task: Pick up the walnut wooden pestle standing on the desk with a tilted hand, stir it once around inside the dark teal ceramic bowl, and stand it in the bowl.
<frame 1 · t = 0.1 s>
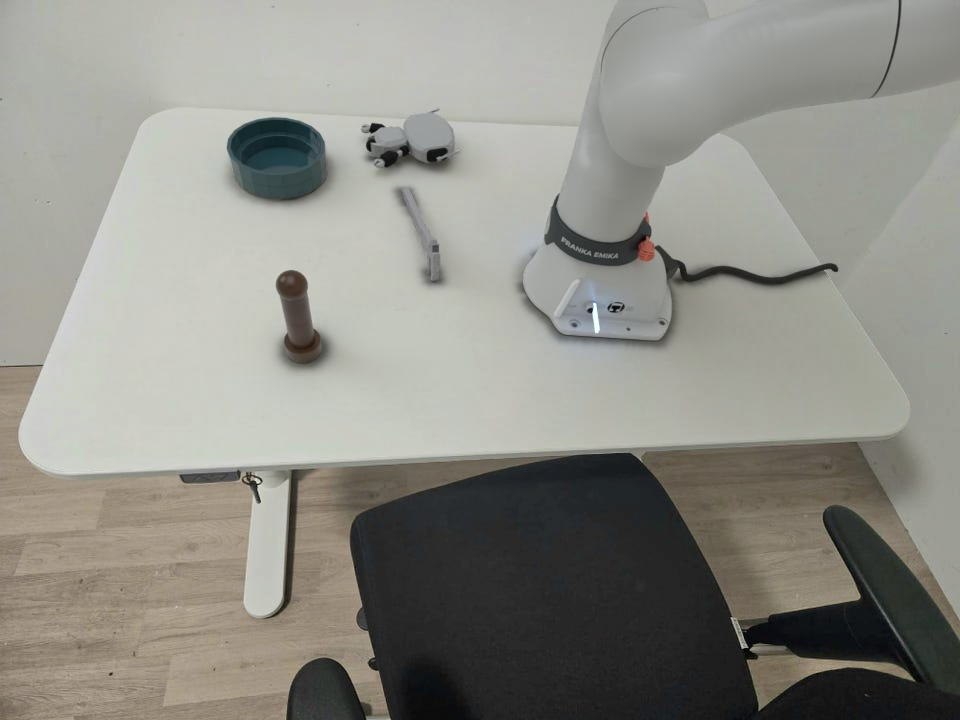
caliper: (418, 234, 88), on the table
robot toy: (409, 154, 99), on the table
bowl: (281, 172, 91), on the table
pestle: (304, 349, 73), on the table
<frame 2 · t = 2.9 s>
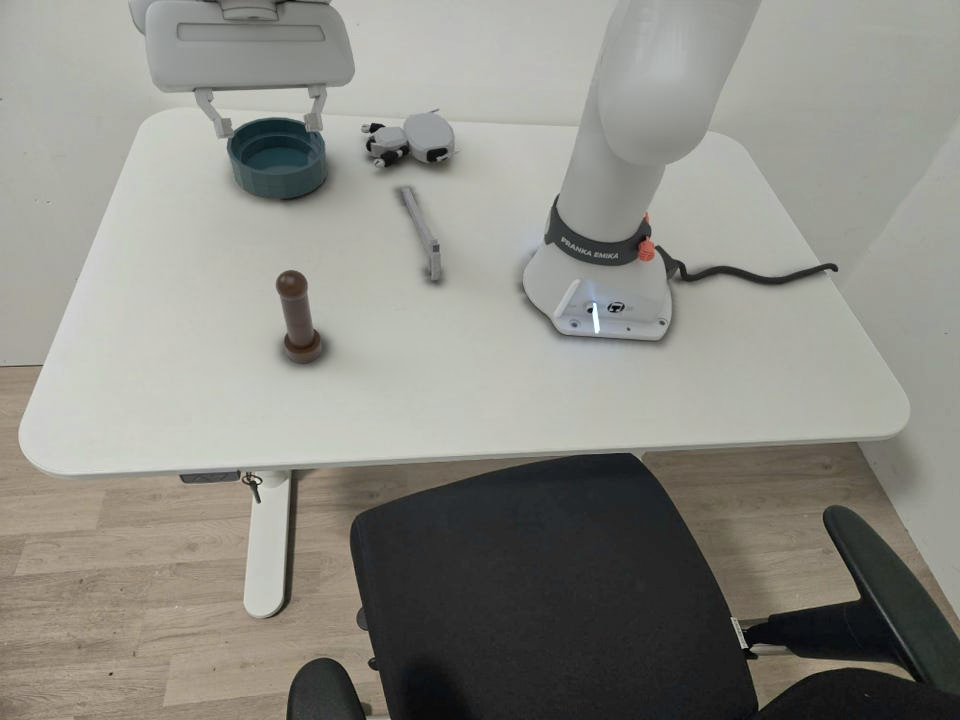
hand: (272, 134, 62), 22 cm above the table, tool tilted 40°, fingers open, 8 cm apart
nothing on the table moved.
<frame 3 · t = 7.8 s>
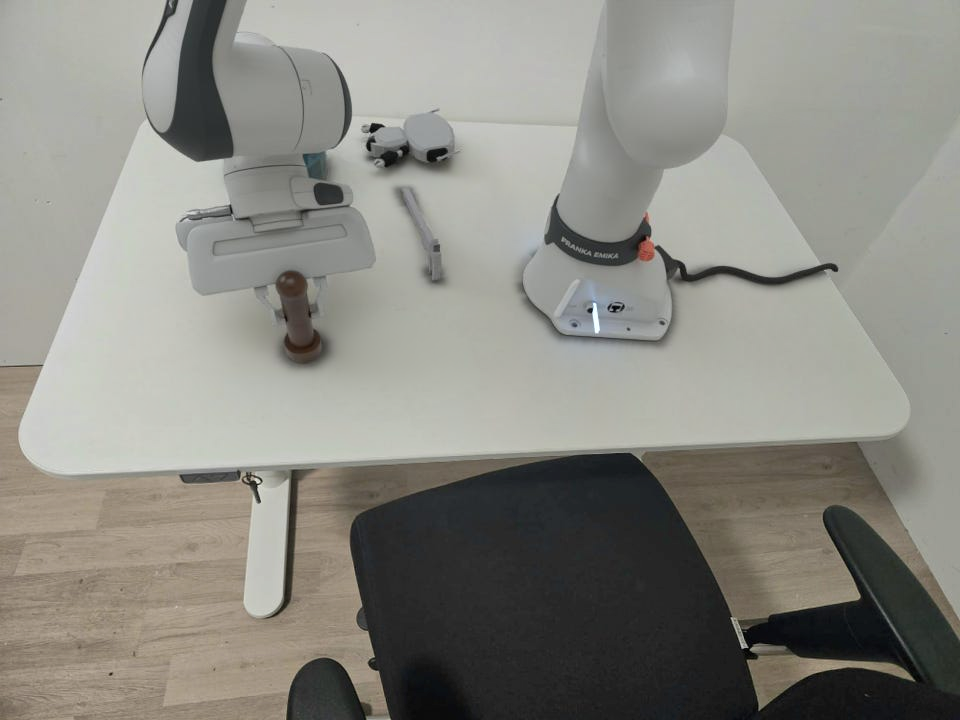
hand: (299, 320, 67), 7 cm above the table, tool tilted 45°, fingers closed on pestle, 3 cm apart
pestle: (304, 349, 73), on the table, touching gripper
everything else where it was.
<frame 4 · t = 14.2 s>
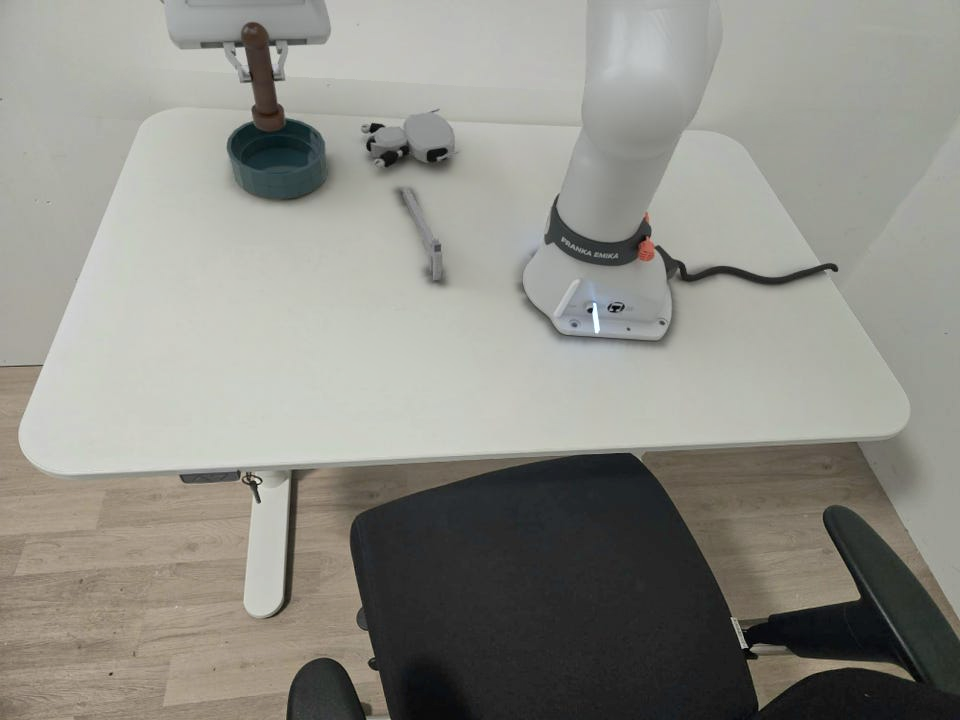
hand: (263, 81, 77), 16 cm above the table, tool tilted 45°, fingers closed on pestle, 3 cm apart
pestle: (269, 122, 83), point 10 cm above the table, touching gripper
everything else where it was.
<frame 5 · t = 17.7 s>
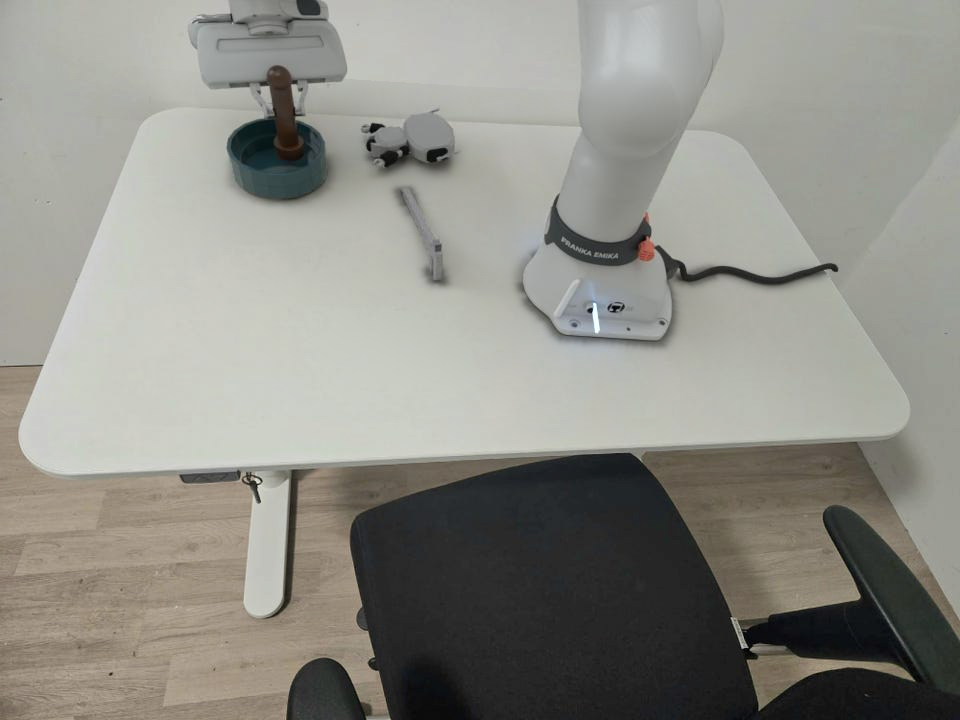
hand: (285, 116, 84), 10 cm above the table, tool tilted 45°, fingers closed on pestle, 3 cm apart
pestle: (290, 152, 90), point 3 cm above the table, touching gripper
everything else where it was.
when the fingers open (7 cm above the table, at t = 20.5 s): pestle stays where it is, resting on bowl.
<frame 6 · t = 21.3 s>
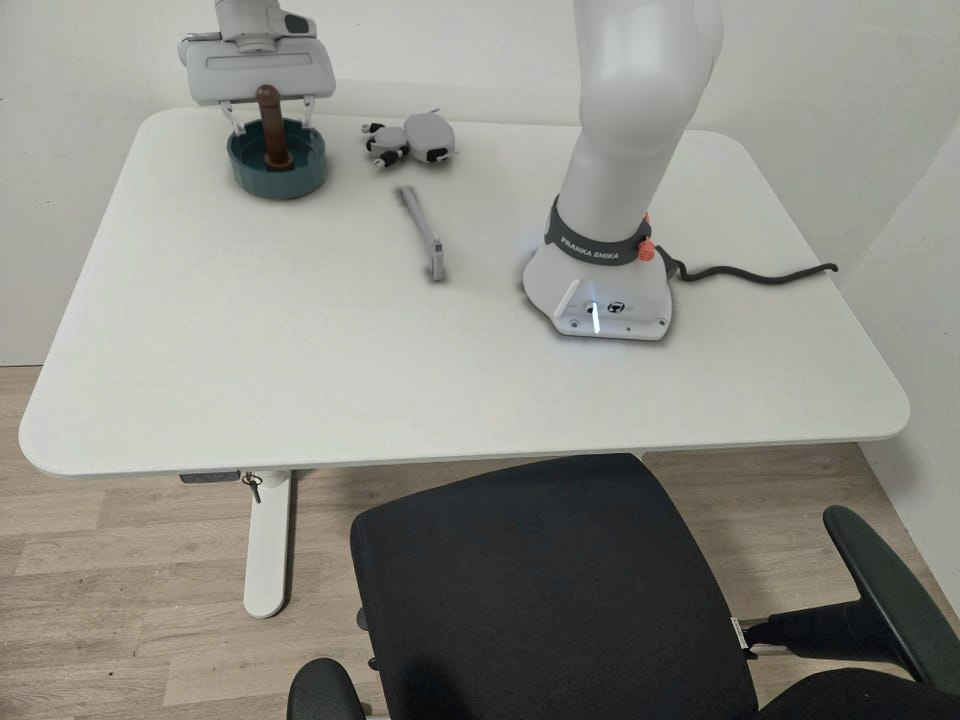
hand: (274, 132, 85), 7 cm above the table, tool tilted 45°, fingers open, 8 cm apart
pestle: (280, 168, 91), point 1 cm above the table, touching bowl
everything else where it was.
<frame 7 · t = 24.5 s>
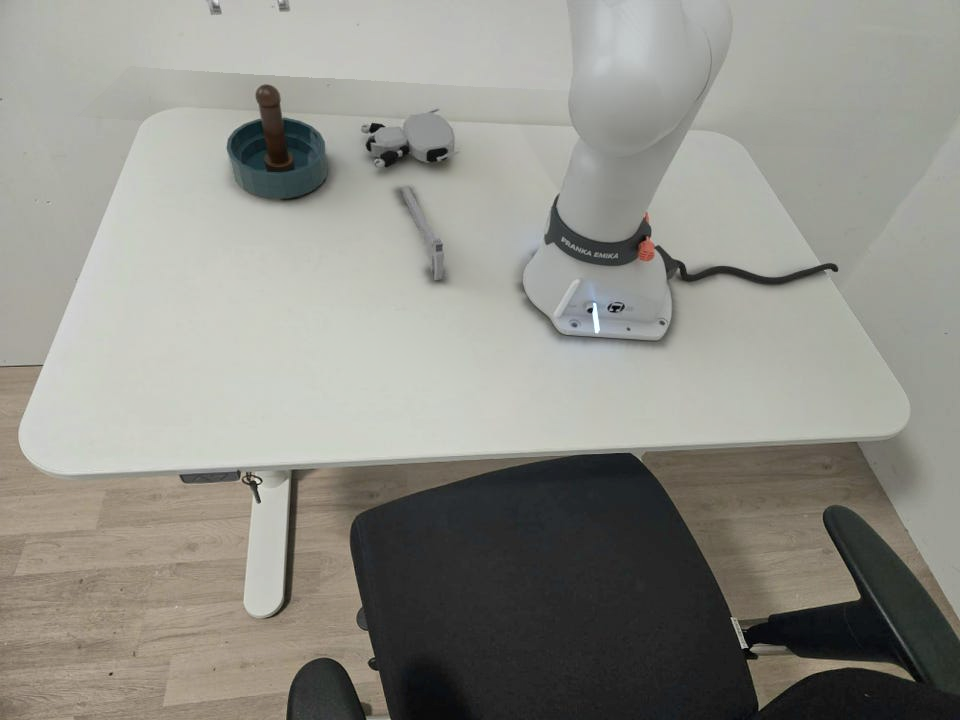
hand: (251, 11, 83), 18 cm above the table, tool tilted 45°, fingers open, 8 cm apart
nothing on the table moved.
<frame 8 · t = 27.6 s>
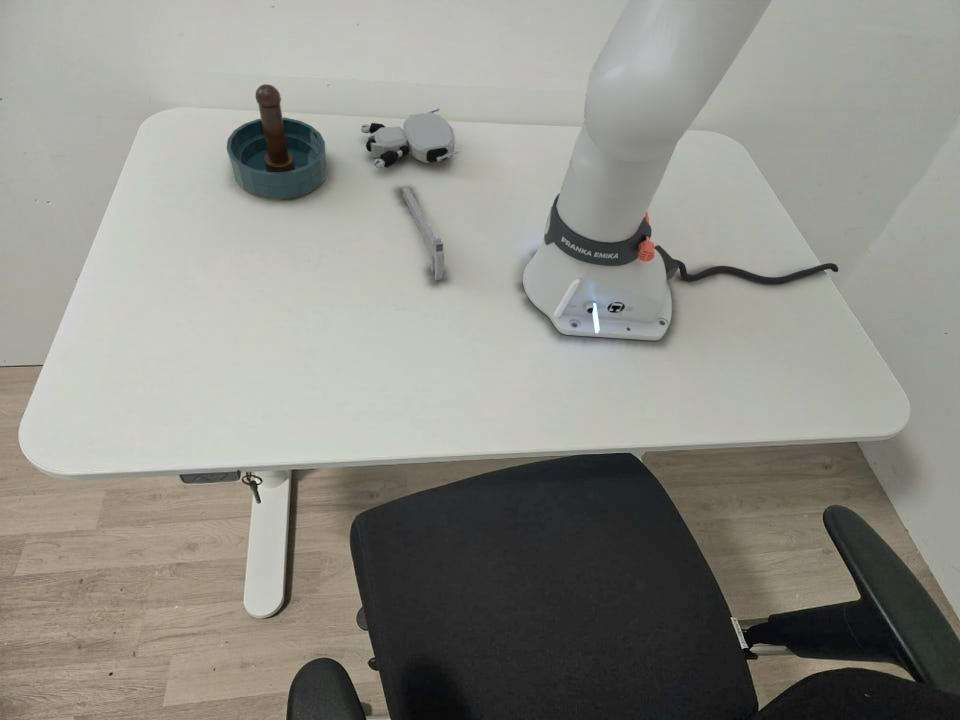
nothing on the table moved.
at the end: pestle inside the target area in the bowl (0.1 cm from its centre), point 0.6 cm above the bowl's base; pestle tilted 0°; the gripper is holding nothing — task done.
